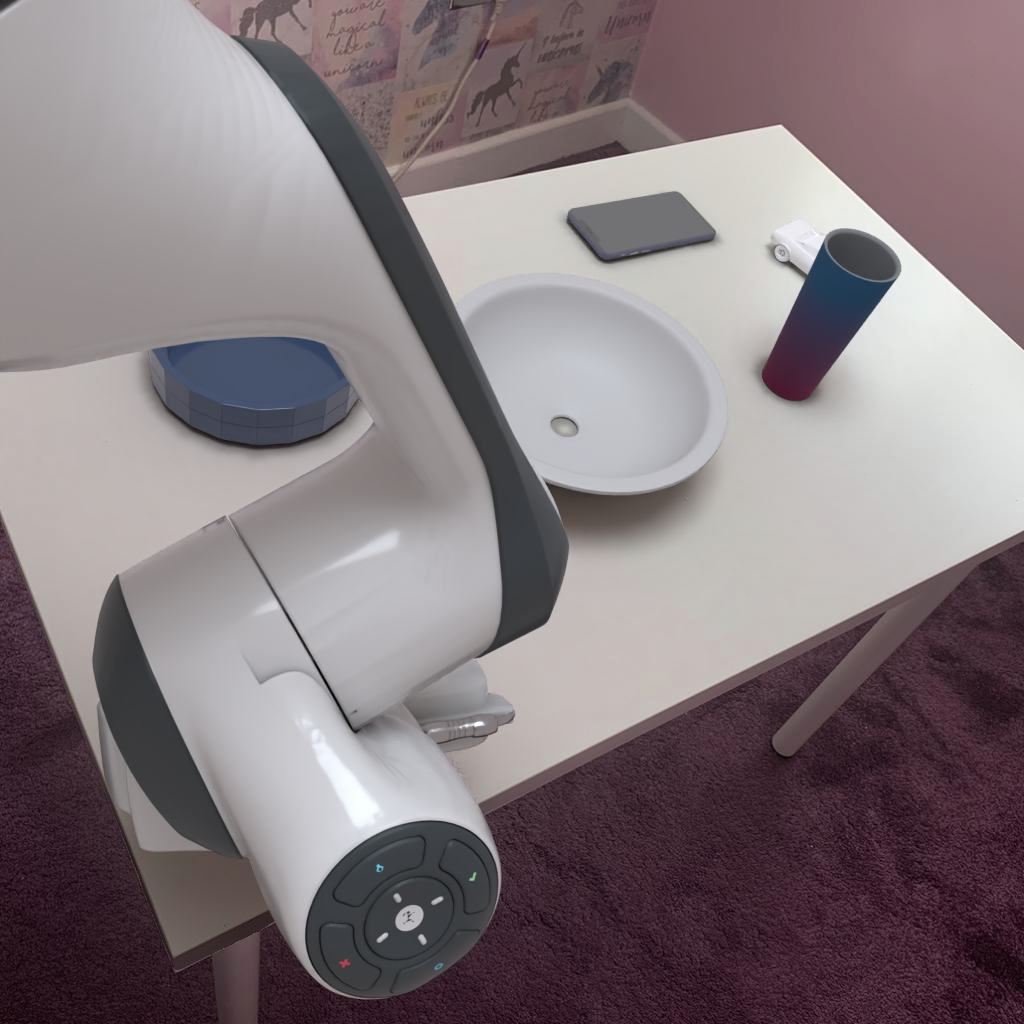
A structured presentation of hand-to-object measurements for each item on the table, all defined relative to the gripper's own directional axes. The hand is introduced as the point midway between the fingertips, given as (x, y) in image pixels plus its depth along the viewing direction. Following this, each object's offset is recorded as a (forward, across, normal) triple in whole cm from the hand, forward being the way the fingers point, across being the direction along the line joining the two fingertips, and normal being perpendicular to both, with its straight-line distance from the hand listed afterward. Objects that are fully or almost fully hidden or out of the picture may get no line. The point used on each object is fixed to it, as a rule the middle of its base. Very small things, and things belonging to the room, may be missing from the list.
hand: (280, 675), depth 63 cm
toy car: (+33, -62, -25) cm, 75 cm away
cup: (+23, -51, -15) cm, 58 cm away
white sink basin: (+20, -27, -12) cm, 36 cm away
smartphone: (+38, -44, -30) cm, 66 cm away
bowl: (+25, -3, -18) cm, 31 cm away
